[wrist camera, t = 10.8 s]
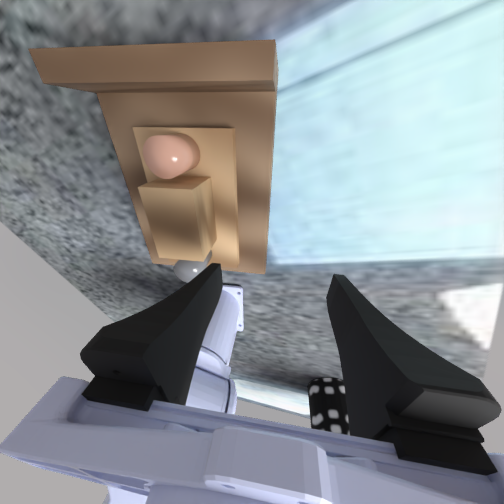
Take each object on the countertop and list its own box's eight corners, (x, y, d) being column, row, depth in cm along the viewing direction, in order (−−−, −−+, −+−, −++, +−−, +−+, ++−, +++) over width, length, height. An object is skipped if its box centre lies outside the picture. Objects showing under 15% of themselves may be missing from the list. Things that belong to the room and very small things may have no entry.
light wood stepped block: (266, 264, 24) (261, 299, 19) (161, 254, 26) (131, 285, 21) (278, 69, 14) (275, 39, 9) (107, 73, 16) (28, 48, 11)
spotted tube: (352, 398, 39) (403, 597, 23) (310, 397, 42) (328, 577, 25) (351, 377, 35) (410, 600, 19) (304, 377, 38) (320, 576, 21)
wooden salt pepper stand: (239, 262, 22) (228, 294, 18) (173, 256, 23) (148, 285, 19) (235, 128, 15) (216, 128, 11) (140, 127, 16) (89, 126, 12)
